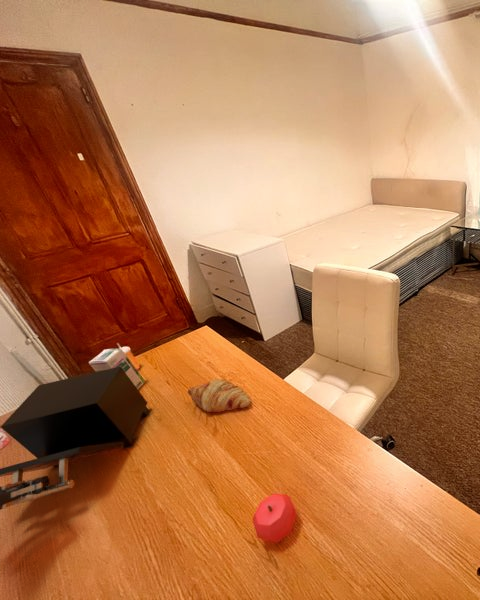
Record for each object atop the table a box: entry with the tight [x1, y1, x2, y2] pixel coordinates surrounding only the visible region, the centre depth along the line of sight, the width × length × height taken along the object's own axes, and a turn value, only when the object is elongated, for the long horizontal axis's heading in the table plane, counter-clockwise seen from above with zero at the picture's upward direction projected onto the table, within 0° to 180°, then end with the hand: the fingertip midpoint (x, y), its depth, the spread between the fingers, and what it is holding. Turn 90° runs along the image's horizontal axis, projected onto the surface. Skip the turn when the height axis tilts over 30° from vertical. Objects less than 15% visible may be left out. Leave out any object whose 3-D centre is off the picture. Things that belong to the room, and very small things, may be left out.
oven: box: [0, 366, 150, 468], centre depth 79 cm, size 13×18×17 cm
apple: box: [252, 493, 297, 544], centre depth 60 cm, size 8×8×8 cm
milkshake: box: [116, 342, 141, 371], centre depth 104 cm, size 4×5×10 cm
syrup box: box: [88, 348, 146, 390], centre depth 95 cm, size 6×6×14 cm
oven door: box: [0, 441, 124, 507], centre depth 69 cm, size 8×17×14 cm
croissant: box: [187, 378, 251, 413], centre depth 90 cm, size 21×10×8 cm, turn 77°
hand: (44, 481), depth 65 cm, fingers closed
